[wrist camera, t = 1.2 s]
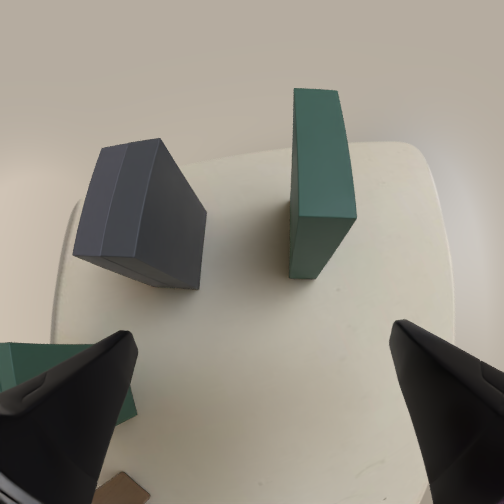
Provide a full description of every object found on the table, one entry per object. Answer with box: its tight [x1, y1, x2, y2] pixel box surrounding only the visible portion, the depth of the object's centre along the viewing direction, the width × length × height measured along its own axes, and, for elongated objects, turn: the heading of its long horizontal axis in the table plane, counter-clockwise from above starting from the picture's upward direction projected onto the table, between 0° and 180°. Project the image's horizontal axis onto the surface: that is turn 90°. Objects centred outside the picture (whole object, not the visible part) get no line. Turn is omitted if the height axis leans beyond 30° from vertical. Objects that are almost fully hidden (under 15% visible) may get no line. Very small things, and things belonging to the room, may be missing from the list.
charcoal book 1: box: [73, 143, 174, 288], centre depth 19 cm, size 7×2×11 cm, turn 177°
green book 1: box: [0, 342, 137, 426], centre depth 15 cm, size 7×2×13 cm, turn 13°
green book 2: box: [289, 88, 357, 279], centre depth 17 cm, size 7×2×13 cm, turn 177°
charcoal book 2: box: [101, 138, 207, 290], centre depth 18 cm, size 7×2×11 cm, turn 177°
